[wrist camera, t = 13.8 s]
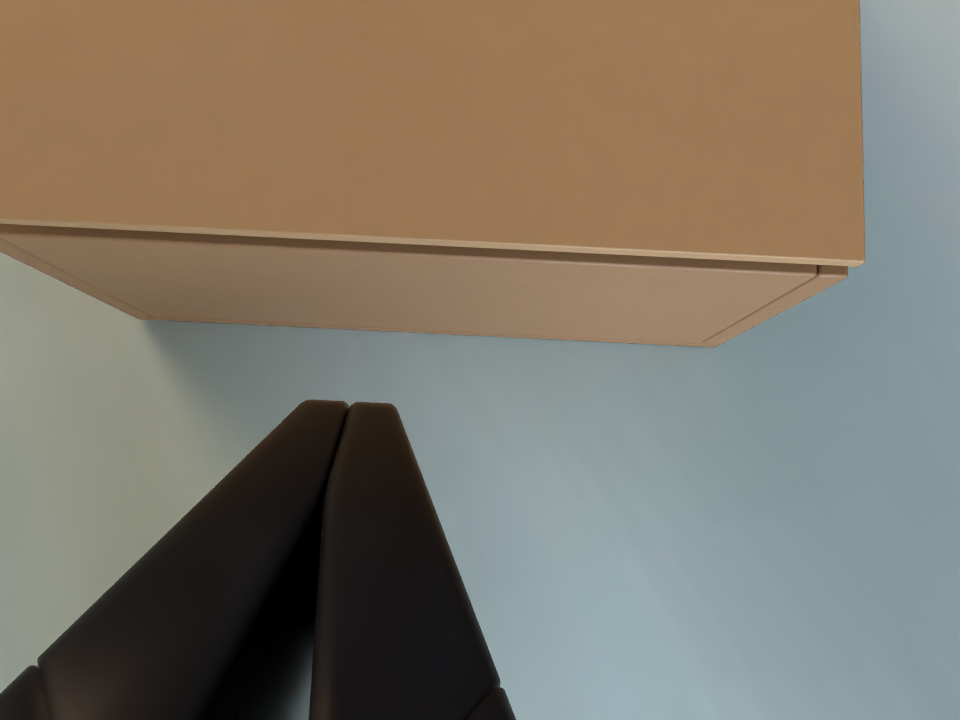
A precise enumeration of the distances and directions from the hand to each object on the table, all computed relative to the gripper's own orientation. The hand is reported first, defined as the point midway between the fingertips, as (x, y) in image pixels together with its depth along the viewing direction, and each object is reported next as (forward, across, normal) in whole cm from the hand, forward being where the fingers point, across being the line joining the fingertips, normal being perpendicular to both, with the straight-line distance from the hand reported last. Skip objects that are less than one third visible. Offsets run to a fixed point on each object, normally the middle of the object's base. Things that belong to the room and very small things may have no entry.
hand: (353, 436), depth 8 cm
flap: (+8, 0, -1) cm, 8 cm away
